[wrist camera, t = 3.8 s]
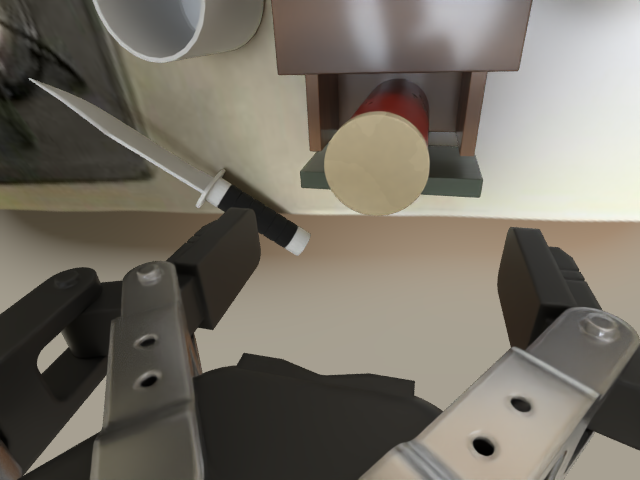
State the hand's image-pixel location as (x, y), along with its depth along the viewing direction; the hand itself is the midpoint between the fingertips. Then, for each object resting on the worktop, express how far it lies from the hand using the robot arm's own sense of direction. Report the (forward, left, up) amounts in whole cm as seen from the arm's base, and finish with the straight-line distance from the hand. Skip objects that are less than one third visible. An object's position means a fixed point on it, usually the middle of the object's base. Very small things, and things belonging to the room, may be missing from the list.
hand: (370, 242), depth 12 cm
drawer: (-1, 0, -19) cm, 19 cm away
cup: (-16, -5, -20) cm, 27 cm away
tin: (-1, 0, -18) cm, 18 cm away
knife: (-8, -18, -20) cm, 28 cm away
